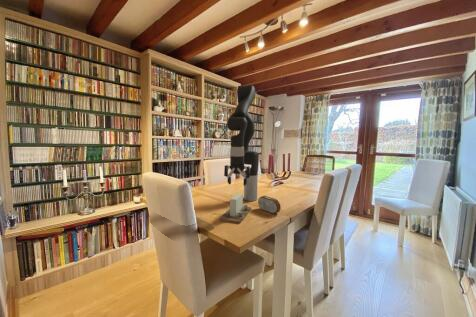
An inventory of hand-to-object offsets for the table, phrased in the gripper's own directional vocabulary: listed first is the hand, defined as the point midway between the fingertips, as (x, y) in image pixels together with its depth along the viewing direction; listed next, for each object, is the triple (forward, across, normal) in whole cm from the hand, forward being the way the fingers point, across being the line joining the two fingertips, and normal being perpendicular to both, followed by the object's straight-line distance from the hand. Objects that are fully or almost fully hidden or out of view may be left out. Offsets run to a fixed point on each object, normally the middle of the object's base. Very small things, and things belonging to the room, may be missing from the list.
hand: (237, 184), depth 111 cm
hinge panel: (+17, 0, 0) cm, 17 cm away
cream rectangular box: (+15, 0, 0) cm, 16 cm away
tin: (+17, +16, +10) cm, 25 cm away
